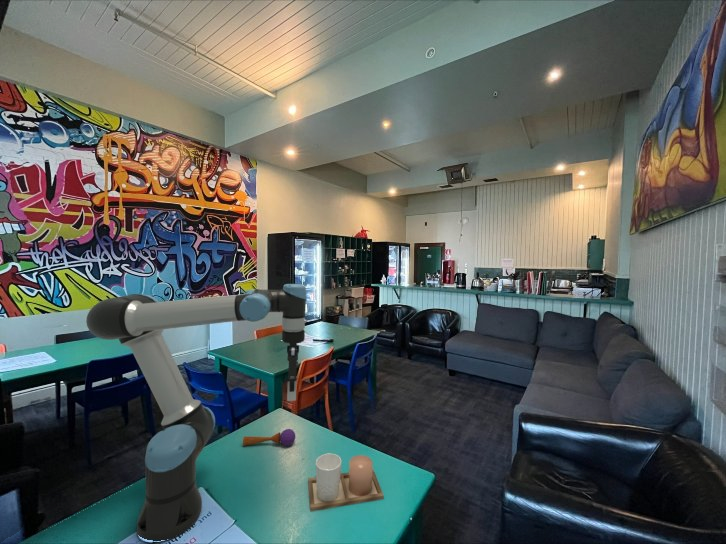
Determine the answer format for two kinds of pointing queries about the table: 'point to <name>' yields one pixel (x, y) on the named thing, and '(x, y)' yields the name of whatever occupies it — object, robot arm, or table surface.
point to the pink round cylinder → (360, 475)
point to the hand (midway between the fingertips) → (291, 391)
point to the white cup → (328, 476)
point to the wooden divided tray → (343, 494)
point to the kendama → (272, 438)
